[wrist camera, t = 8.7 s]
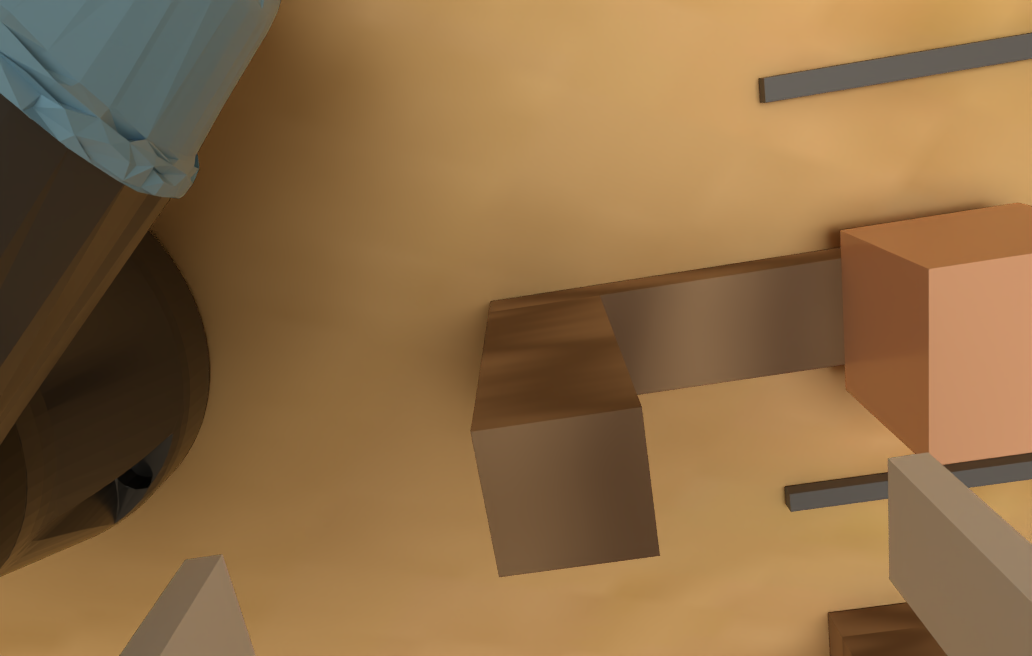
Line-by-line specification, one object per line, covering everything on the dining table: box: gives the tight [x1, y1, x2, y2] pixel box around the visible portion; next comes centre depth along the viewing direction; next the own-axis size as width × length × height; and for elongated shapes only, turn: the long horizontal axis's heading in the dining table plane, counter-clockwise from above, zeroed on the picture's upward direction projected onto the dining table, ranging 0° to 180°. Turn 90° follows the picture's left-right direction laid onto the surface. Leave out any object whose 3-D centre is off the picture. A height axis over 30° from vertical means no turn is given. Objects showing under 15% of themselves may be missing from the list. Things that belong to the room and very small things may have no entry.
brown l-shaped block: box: [471, 247, 845, 577], centre depth 23 cm, size 20×4×12 cm, turn 99°
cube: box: [840, 203, 1032, 465], centre depth 24 cm, size 6×6×6 cm
